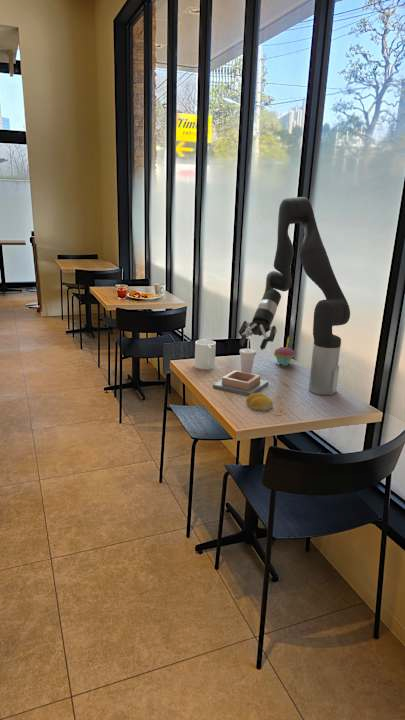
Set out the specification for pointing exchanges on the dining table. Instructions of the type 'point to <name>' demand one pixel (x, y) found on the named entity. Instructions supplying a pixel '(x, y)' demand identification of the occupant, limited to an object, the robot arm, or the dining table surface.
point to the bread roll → (259, 402)
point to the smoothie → (247, 359)
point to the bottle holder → (241, 383)
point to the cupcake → (284, 354)
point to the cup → (205, 354)
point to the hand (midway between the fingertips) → (251, 346)
